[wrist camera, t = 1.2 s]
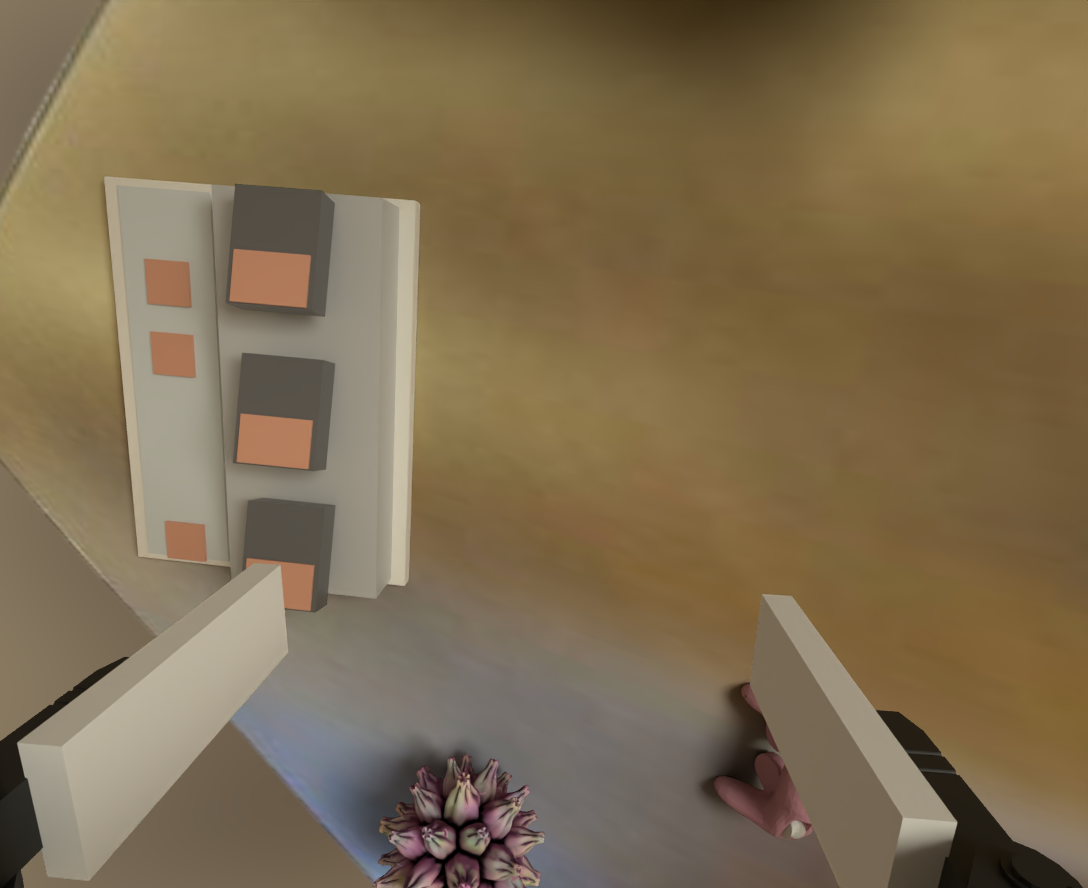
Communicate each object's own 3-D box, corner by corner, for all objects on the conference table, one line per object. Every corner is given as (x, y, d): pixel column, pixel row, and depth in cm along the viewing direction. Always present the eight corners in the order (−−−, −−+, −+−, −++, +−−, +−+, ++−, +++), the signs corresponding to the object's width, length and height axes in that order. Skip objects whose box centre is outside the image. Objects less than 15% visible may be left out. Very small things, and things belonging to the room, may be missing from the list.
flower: (376, 782, 45) (305, 942, 34) (467, 689, 43) (424, 828, 31) (484, 863, 46) (451, 1045, 35) (579, 777, 44) (578, 943, 32)
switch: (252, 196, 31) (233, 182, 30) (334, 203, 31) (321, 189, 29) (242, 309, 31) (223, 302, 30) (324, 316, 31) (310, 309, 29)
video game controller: (750, 776, 45) (822, 858, 38) (705, 788, 43) (773, 875, 37) (783, 671, 42) (865, 740, 36) (737, 678, 40) (815, 751, 34)
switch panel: (116, 179, 36) (60, 163, 32) (420, 203, 35) (400, 189, 31) (148, 550, 42) (104, 575, 38) (408, 579, 41) (390, 607, 37)
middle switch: (257, 356, 33) (240, 352, 32) (335, 363, 33) (322, 359, 31) (248, 461, 33) (231, 463, 32) (325, 469, 33) (312, 471, 32)
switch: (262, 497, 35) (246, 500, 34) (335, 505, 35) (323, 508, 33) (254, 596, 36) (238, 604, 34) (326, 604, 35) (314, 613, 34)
